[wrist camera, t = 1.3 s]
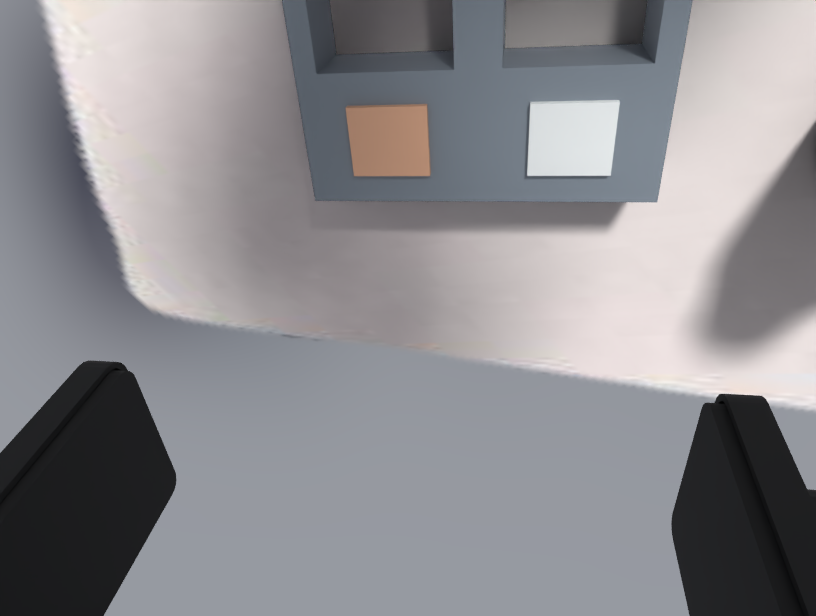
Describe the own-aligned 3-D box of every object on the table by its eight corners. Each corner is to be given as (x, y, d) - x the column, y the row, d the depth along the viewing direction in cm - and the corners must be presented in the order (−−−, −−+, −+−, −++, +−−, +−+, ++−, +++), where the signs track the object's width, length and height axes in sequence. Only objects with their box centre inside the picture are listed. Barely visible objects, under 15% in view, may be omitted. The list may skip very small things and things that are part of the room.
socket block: (286, -151, 25) (253, -153, 22) (702, -190, 23) (729, -199, 20) (333, 172, 33) (313, 203, 30) (645, 171, 31) (658, 205, 28)
